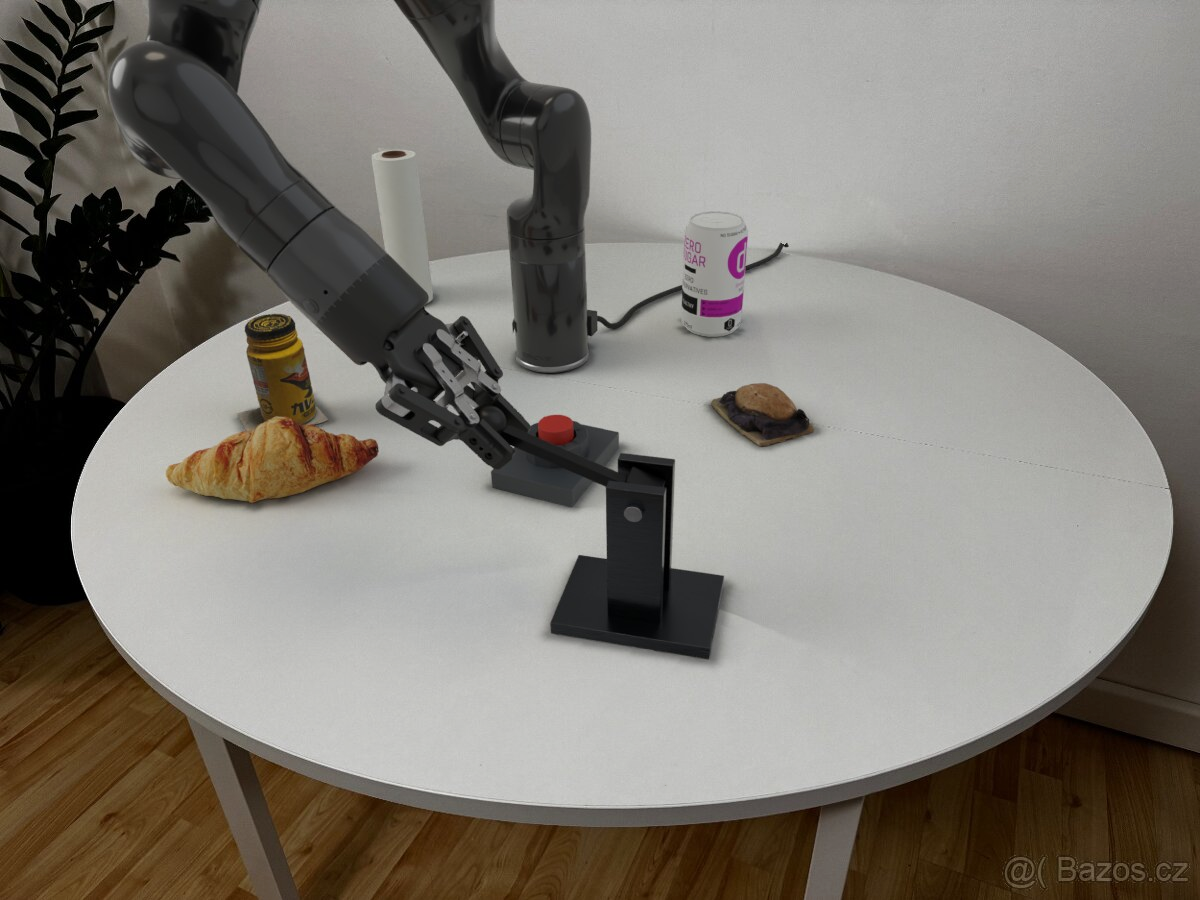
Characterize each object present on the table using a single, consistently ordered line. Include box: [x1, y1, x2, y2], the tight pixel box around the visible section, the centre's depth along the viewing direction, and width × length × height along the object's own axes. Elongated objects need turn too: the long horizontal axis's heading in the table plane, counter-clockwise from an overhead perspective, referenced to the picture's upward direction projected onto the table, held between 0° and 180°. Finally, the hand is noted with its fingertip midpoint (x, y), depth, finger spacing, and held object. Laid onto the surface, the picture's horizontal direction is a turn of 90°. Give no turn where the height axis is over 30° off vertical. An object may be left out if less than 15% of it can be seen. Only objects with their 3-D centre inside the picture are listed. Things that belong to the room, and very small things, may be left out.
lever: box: [473, 404, 665, 488], centre depth 69 cm, size 16×3×3 cm, turn 76°
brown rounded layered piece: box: [710, 382, 815, 447], centre depth 101 cm, size 11×8×4 cm
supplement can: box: [680, 210, 749, 338], centre depth 119 cm, size 8×8×15 cm
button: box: [537, 414, 574, 445], centre depth 92 cm, size 4×4×2 cm
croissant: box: [165, 416, 380, 504], centre depth 91 cm, size 21×10×8 cm, turn 101°
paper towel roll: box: [371, 147, 434, 304], centre depth 128 cm, size 7×6×21 cm
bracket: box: [549, 452, 725, 660], centre depth 72 cm, size 13×9×14 cm
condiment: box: [236, 313, 329, 431], centre depth 100 cm, size 7×8×12 cm
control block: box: [490, 416, 620, 508], centre depth 93 cm, size 12×9×4 cm
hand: (514, 448), depth 70 cm, fingers closed on lever, 3 cm apart
